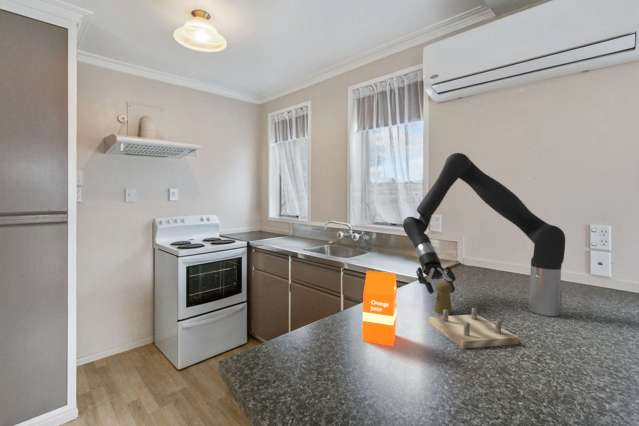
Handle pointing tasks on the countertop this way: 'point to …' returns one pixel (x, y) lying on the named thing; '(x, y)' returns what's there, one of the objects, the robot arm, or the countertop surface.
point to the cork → (443, 298)
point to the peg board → (472, 330)
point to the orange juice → (379, 308)
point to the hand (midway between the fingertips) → (442, 292)
